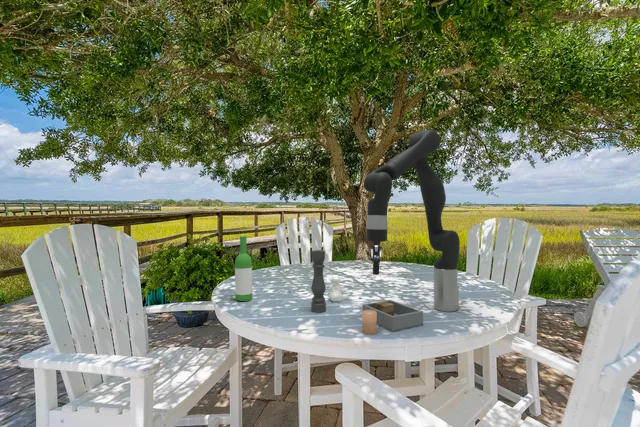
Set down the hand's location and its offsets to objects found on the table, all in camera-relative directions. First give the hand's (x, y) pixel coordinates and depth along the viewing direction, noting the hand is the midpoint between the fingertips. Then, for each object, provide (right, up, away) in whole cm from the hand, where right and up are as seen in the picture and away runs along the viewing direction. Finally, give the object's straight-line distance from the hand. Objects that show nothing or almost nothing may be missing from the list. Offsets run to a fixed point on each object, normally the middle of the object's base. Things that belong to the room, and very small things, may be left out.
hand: (376, 272), depth 120 cm
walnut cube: (+5, -19, +9) cm, 21 cm away
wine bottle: (-56, -20, +36) cm, 70 cm away
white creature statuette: (-12, -19, +35) cm, 41 cm away
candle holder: (-21, -19, +19) cm, 34 cm away
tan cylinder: (-3, -19, -6) cm, 21 cm away
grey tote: (+7, -19, +5) cm, 21 cm away
